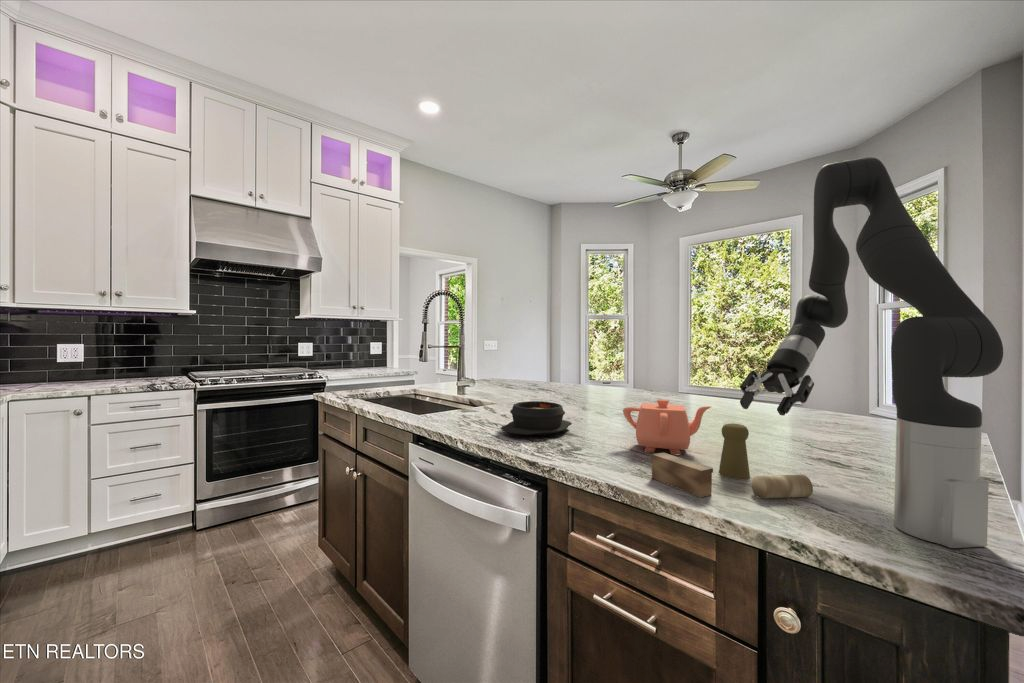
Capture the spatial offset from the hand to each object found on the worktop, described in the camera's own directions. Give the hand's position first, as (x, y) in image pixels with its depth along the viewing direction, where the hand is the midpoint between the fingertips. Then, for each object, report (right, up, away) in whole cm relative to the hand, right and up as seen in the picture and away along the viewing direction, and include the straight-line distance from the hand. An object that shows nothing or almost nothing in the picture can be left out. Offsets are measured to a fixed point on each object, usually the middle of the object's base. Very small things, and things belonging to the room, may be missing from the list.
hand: (761, 409), depth 97 cm
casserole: (-48, -13, +35) cm, 61 cm away
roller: (-5, -14, -17) cm, 22 cm away
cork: (-8, -14, -4) cm, 16 cm away
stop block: (-23, -13, -11) cm, 29 cm away
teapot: (-16, -13, +16) cm, 26 cm away
